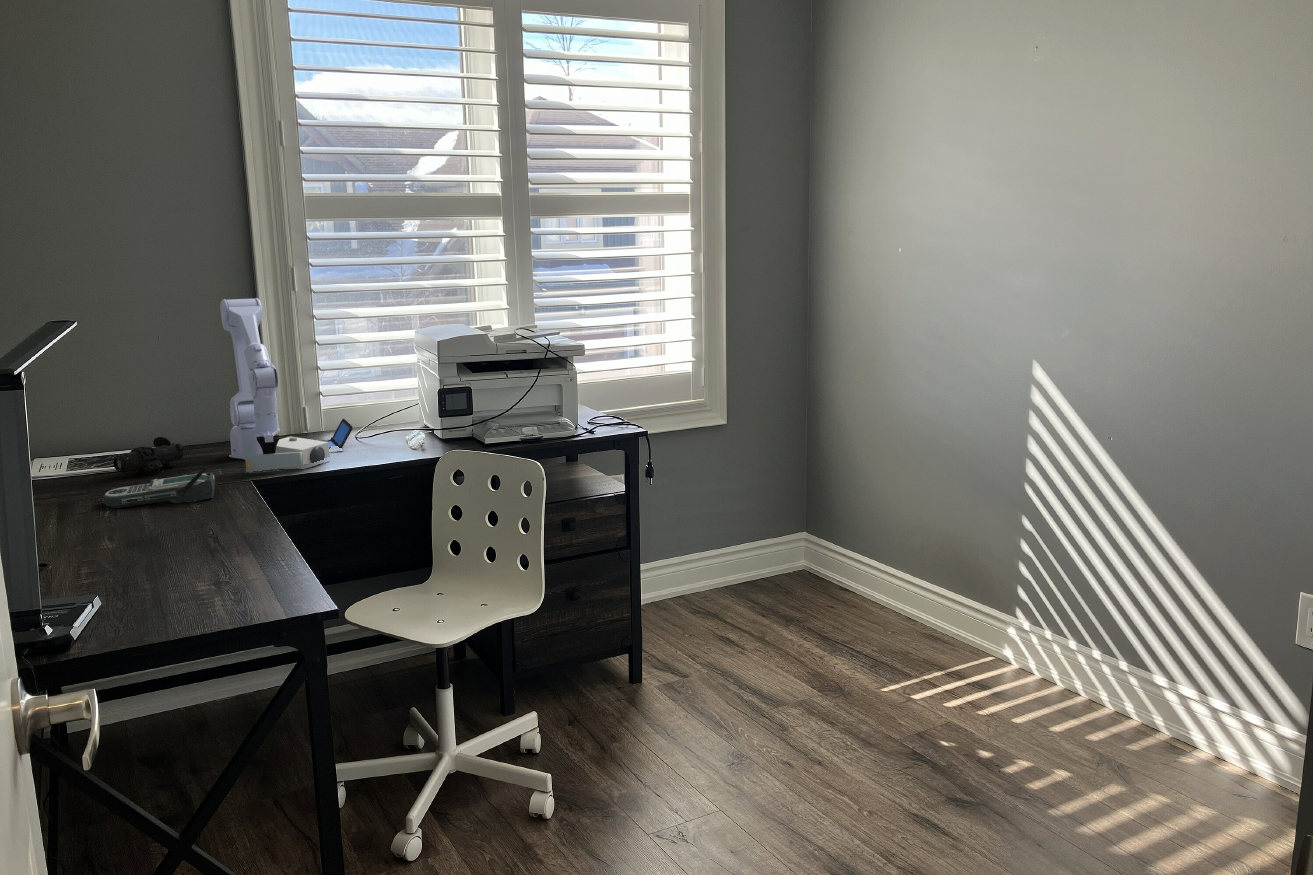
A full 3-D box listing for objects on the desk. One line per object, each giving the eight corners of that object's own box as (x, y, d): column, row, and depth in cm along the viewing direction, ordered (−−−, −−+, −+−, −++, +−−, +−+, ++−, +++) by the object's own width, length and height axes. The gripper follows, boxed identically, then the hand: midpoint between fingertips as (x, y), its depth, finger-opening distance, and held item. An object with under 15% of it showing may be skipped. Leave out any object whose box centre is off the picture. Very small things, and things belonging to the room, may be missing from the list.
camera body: (264, 463, 269) (262, 441, 268) (291, 455, 278) (290, 434, 277) (305, 470, 263) (304, 448, 262) (332, 461, 272) (330, 440, 271)
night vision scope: (120, 488, 252) (101, 460, 255) (184, 474, 267) (164, 448, 270) (130, 468, 248) (110, 440, 251) (194, 455, 263) (174, 428, 266)
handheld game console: (307, 445, 291) (306, 421, 289) (345, 441, 296) (343, 417, 294) (316, 455, 280) (314, 429, 278) (354, 451, 285) (353, 426, 283)
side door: (302, 467, 263) (301, 451, 262) (303, 469, 262) (301, 452, 261) (246, 471, 259) (245, 455, 258) (246, 473, 257) (245, 456, 256)
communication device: (108, 498, 237) (104, 463, 235) (216, 489, 246) (212, 455, 244) (101, 513, 227) (96, 476, 224) (214, 502, 235) (210, 466, 233)
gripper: (248, 408, 263) (252, 457, 266) (250, 419, 250) (254, 470, 253) (276, 406, 265) (280, 455, 269) (280, 417, 252) (283, 468, 256)
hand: (270, 462), depth 261 cm, fingers closed
